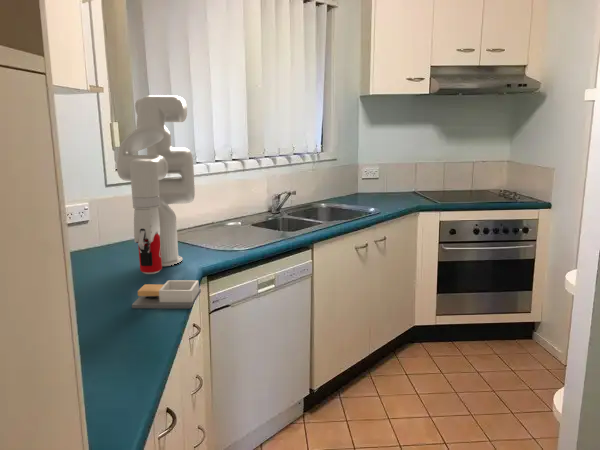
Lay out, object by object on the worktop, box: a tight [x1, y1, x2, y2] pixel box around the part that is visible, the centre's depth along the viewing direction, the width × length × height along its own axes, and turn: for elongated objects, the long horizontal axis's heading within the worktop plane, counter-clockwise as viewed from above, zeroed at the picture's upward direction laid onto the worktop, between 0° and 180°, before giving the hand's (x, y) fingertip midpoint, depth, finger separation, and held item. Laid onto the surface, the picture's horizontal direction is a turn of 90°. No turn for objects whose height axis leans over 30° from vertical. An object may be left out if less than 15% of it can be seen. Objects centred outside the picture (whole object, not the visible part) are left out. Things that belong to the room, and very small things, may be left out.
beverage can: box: [137, 232, 163, 275], centre depth 149 cm, size 6×6×12 cm
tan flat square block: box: [137, 283, 165, 297], centre depth 150 cm, size 6×6×2 cm
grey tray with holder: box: [131, 279, 202, 310], centre depth 150 cm, size 14×17×4 cm
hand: (150, 261), depth 149 cm, fingers closed on beverage can, 6 cm apart
